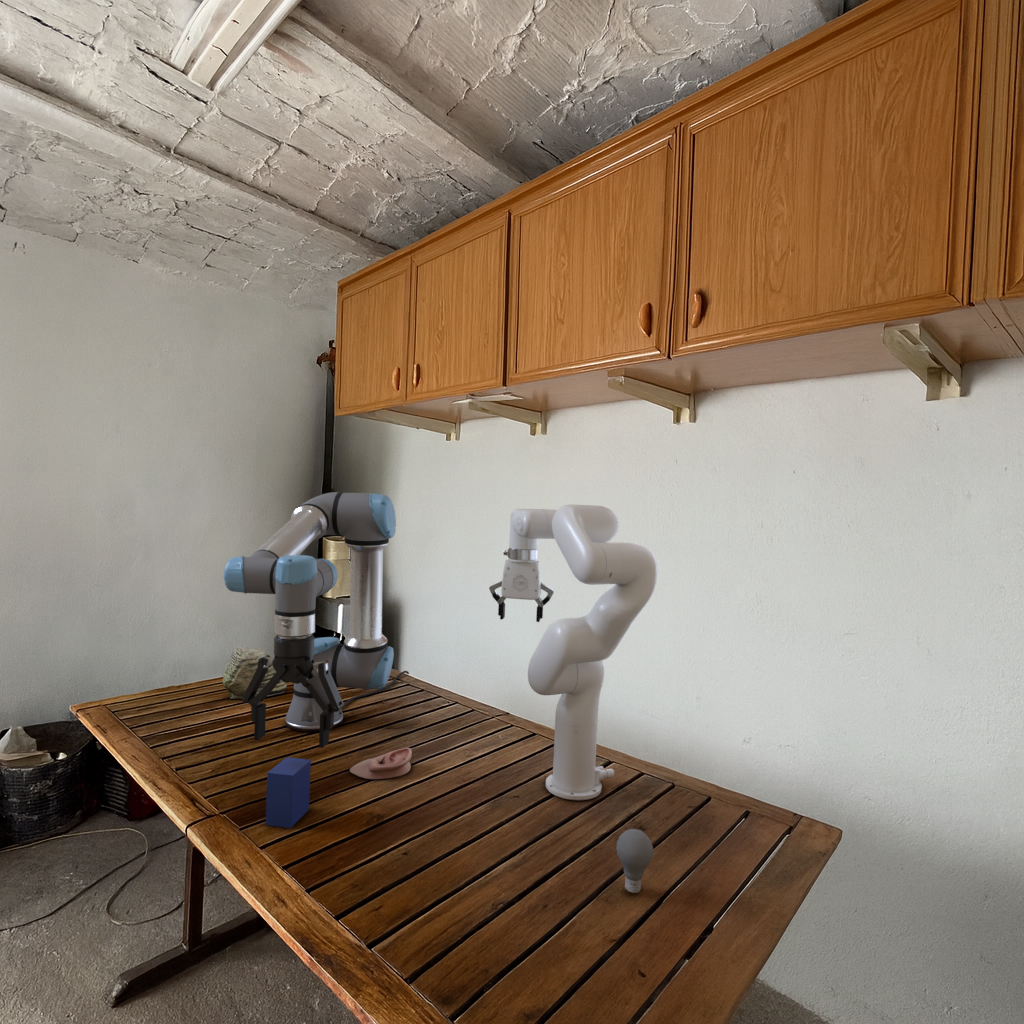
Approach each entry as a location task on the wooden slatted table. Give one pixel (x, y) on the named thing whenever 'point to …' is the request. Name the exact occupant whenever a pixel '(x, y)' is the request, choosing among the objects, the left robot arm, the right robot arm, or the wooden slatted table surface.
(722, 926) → the wooden slatted table surface
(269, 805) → the brick
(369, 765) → the anatomical model
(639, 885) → the light bulb
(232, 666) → the fossil
